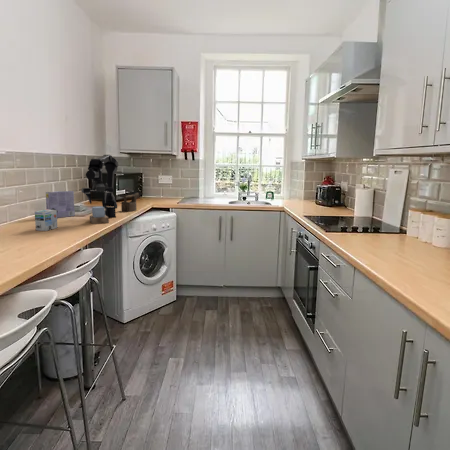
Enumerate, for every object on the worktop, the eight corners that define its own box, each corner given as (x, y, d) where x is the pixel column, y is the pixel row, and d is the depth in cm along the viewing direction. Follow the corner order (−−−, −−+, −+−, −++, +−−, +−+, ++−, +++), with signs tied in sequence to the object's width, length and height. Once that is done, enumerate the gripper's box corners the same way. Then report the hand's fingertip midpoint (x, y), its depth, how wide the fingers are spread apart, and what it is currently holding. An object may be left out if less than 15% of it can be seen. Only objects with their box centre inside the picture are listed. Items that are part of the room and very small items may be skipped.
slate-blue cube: (101, 215, 238) (101, 206, 237) (104, 216, 233) (104, 207, 232) (92, 216, 235) (92, 207, 233) (95, 217, 230) (94, 208, 229)
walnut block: (105, 220, 241) (105, 215, 241) (108, 223, 233) (108, 217, 232) (89, 221, 237) (89, 215, 236) (92, 224, 228) (92, 218, 227)
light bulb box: (45, 231, 203) (44, 212, 201) (35, 230, 204) (33, 211, 202) (58, 227, 213) (57, 209, 211) (48, 227, 215) (46, 209, 213)
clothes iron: (142, 209, 292) (142, 192, 290) (128, 212, 278) (128, 194, 276) (134, 208, 296) (134, 192, 293) (120, 211, 282) (120, 193, 279)
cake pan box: (72, 214, 259) (71, 190, 256) (76, 215, 256) (75, 190, 253) (46, 218, 243) (44, 191, 240) (50, 219, 241) (48, 192, 237)
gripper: (85, 179, 218) (86, 205, 221) (116, 179, 228) (116, 204, 231) (80, 178, 227) (81, 203, 230) (110, 178, 237) (111, 202, 240)
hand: (98, 203), depth 232 cm, fingers open, 9 cm apart
